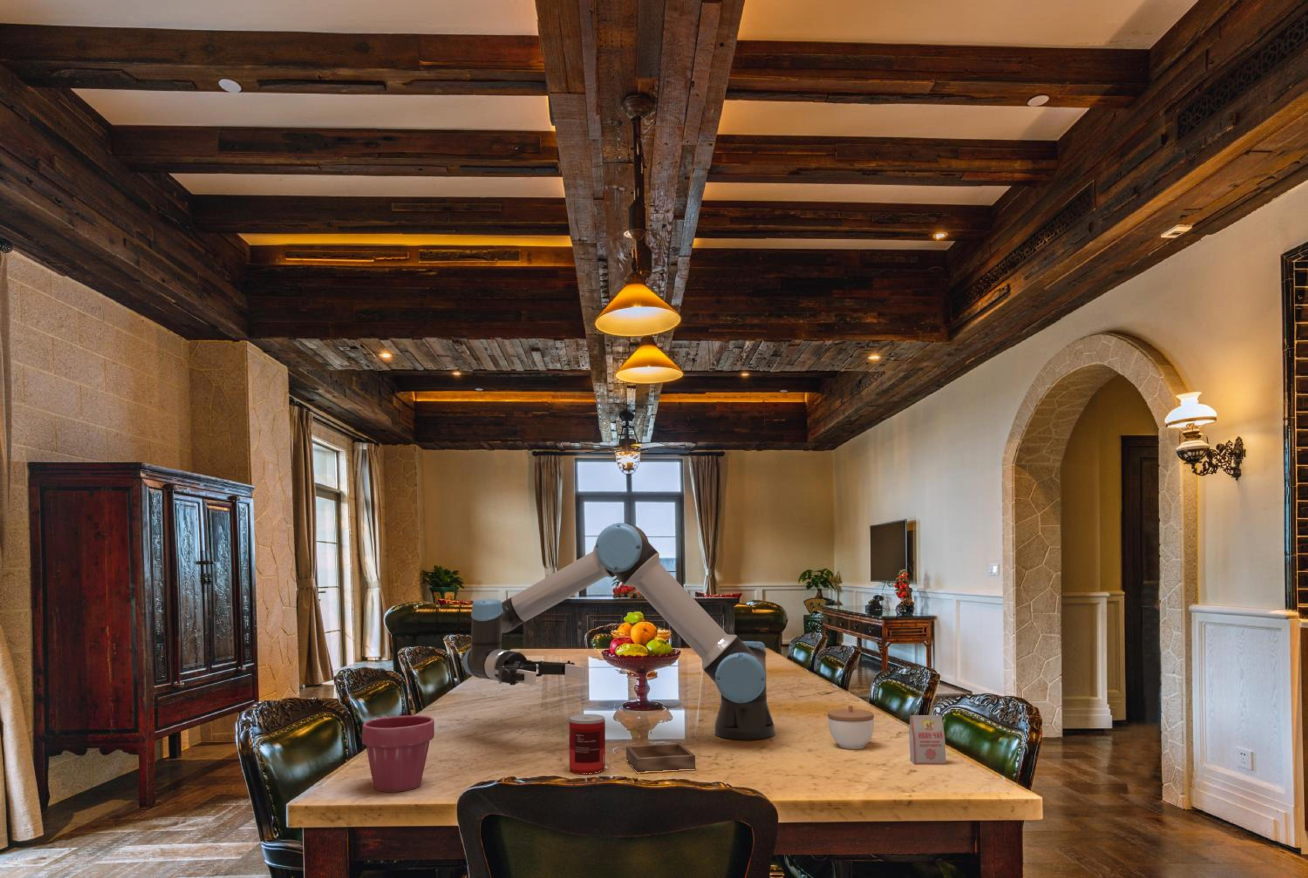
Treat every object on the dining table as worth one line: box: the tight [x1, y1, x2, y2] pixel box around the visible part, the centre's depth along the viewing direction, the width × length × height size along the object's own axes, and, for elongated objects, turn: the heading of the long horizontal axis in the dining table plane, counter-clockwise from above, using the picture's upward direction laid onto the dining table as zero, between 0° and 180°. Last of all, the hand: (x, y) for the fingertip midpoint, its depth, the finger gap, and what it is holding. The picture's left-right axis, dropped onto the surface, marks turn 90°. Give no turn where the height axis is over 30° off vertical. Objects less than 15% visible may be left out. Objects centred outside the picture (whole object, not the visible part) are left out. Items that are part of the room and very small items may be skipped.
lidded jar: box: [827, 704, 875, 750], centre depth 209 cm, size 11×11×9 cm
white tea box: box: [908, 714, 947, 766], centre depth 193 cm, size 4×7×10 cm, turn 87°
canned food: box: [568, 713, 606, 775], centre depth 190 cm, size 8×8×11 cm
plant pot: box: [361, 715, 435, 793], centre depth 178 cm, size 14×14×13 cm
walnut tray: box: [625, 742, 696, 772], centre depth 193 cm, size 13×13×3 cm
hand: (559, 675), depth 198 cm, fingers open, 13 cm apart
